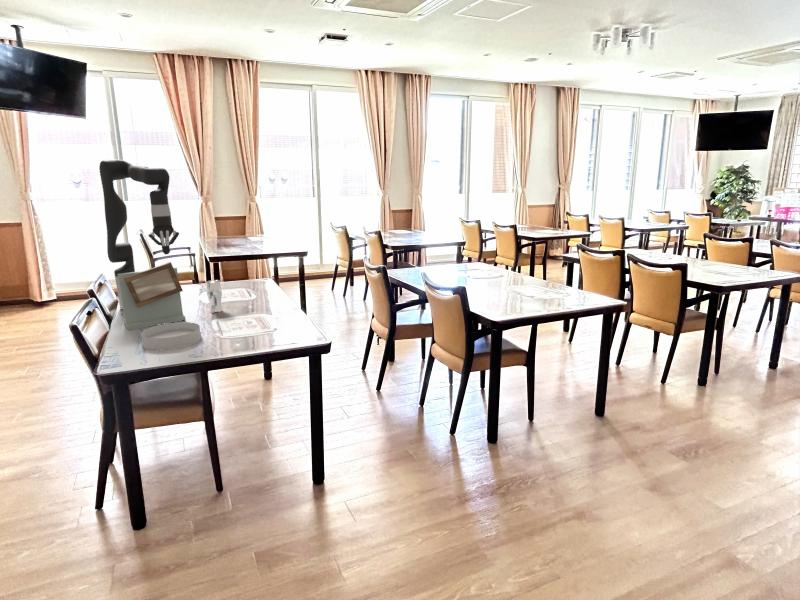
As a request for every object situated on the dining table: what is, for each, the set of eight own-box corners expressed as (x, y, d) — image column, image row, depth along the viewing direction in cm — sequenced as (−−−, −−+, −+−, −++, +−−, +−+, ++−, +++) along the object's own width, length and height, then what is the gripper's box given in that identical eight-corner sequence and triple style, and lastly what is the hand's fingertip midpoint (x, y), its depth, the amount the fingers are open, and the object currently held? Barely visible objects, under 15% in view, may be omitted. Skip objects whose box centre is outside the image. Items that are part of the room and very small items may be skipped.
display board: (124, 323, 234) (116, 272, 228) (180, 315, 247) (173, 265, 241) (127, 330, 224) (119, 276, 218) (185, 320, 237) (179, 269, 231)
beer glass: (208, 313, 248) (204, 283, 244) (209, 310, 254) (206, 280, 251) (223, 312, 249) (220, 282, 246) (224, 308, 256) (221, 279, 252)
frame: (137, 307, 227) (123, 278, 222) (181, 290, 236) (170, 261, 231) (137, 307, 225) (124, 278, 220) (182, 290, 235) (171, 262, 230)
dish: (134, 342, 208) (132, 330, 207) (188, 330, 223) (186, 319, 222) (154, 354, 192) (152, 342, 191) (210, 340, 207) (209, 329, 206)
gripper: (175, 213, 231) (180, 251, 236) (143, 215, 224) (149, 254, 228) (179, 214, 225) (184, 253, 229) (146, 216, 218) (151, 256, 222)
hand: (166, 254), depth 229 cm, fingers closed
